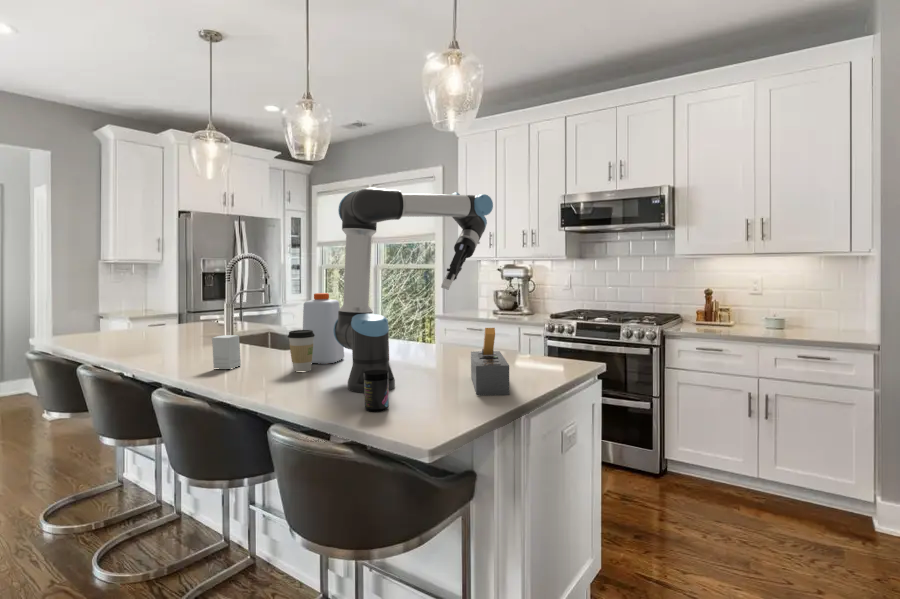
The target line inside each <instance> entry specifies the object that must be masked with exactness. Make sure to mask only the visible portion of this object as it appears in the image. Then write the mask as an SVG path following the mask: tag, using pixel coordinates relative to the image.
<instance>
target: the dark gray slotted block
mask: <svg viewBox="0 0 900 599" xmlns="http://www.w3.org/2000/svg"><path fill="white" fill-rule="evenodd" d="M470 378H471V381H472V385H473V388H474V392H476V393H475V395H480V396H509V395H510V364H509V363H508V361H507V360H506V358H505V357H504V356H503V354H502V352H501V351H500V350H494V354H493V355H482V350H478V351H470Z"/></svg>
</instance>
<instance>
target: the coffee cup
mask: <svg viewBox="0 0 900 599" xmlns="http://www.w3.org/2000/svg"><path fill="white" fill-rule="evenodd" d="M314 336H315V335H314V333H313V331H312V330H303V329H297V330H289V332H288V334H287V338H288V340H289V345H288V346H289V353H290V356H291V357H290V358H291V363H292V368H293V369H292V370H293V372H294V371H309V370H312V364H311V362H312V355H313V338H314ZM309 372H310V371H309Z"/></svg>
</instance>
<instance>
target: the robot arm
mask: <svg viewBox="0 0 900 599" xmlns="http://www.w3.org/2000/svg"><path fill="white" fill-rule="evenodd" d="M493 208H494V202H493V199H492V197H491V196H489V194H483V193H482V194H481V193H480V194H475V195H473V194H460V193H459V192H453V193H451V194H444V193H443V194H441V193H439V194H438V193H434V194H433V193H407V192H406V193H403V192H402V191H401V190H399V189H389V188H388V189H386V188H377V187H365V188H362V189H359V190H354V191H351V192H349V193H347V194H346V195H344V197H343V198H342V199H341V200H340V202H339V204H338V216H339V219H340V220H341V221H342V222H341V230H342V232H343V233H344V234H345V254H344V255H345V257H344V276H343V277H344V282H343V301H342V303H343V304H342V306H341V307H340V309H339V310H338V319H337V321H336V322H335V324H334V328H333V332H334V337H335V339H336V340H337V342H338V343H339V344H340V345H342V346H343V347H344V349H348V350H350V351H352V352H351V353H352V355H351V356H352V367H351V369H350V371H349V372H350V373H349V377H348V379H347V389H348V390H349V391H351V392H353V393H354V392H355V393H364V372H365V371H369V370H387V371H388V377H389V378H388V386H389V391H390V390H392V389H394V388H395V387H396V379H395V377H394V373H393V370H392V368H391V365H390V344H389V343H390V340H389V337H390V336H389V331H390V326H389V321H388V318H387V317H386V316H384V315H382V314H378V313H377V314H376V313H374V312H373V309H372V308H371V307H370V306H369V301H370V279H371V261H372V260H371V259H372V258H371V257H372V255H371V254H372V237H373V236H374V235H375V234H376V233H377V225H378V224H377V223H381V222H386V221H393V220H394V221H395V220H401V219H402V218H403V217H408V218H409V217H413V218H414V217H421V218H422V217H432V218H433V217H437V218H438V217H441V218H442V217H447V218H448V217H451V218H452V219H454V221H455V222H456V223H457V224H458V226H459V227H460V228H461V229H462V231H460V234H459V236H458V237H457V239H456V242H455V244H454V245H453V250H454V252H455V253H454V255H453V257H452V260H451V262H450V264H449V268H448V267H447V268H446V272H447V273H446V275H445V277H444V280H443V281H442V283H441V286H440V288H442V289H444V290H447V291H448V290H450V289H451V286H452V284H453V282H454V281H456V280H457V278H458V275H459V273H460V272H461V271H462V269H463V268H462V267H463V264H464V263H465V262H466V259H468V258H471V257H472V256H473V255H474V253H475V251H476V248H477V246H478V245H480V244H481V241H480V240H481V238H482V236H483V235H484V233H485V230H486V228H487V224H488V222H487V218H486V216H487V215H490V214H491V212H493Z"/></svg>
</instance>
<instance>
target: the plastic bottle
mask: <svg viewBox="0 0 900 599" xmlns="http://www.w3.org/2000/svg"><path fill="white" fill-rule="evenodd" d="M340 308H341V307H340V301H339V300H338V299H330V294H329V292H328V293H327V292H317V293H314V294H313V299H310V300H306V301H305V302H303V309H302V312H303V313H302V330H312V331H313V333H314V335H315V336H314V338H313V355H312V362H311V363H318V364H317V365H327V364H326V363H333V364H335V363H334V362H336V363H338V362H340V361H342V360H344V358H345V347H343V346H342V345H340V344H339V343H338V342H337V340H336V339H335V337H334V332H333V328H334V324H335V322H336V321H337V319H338V310H339V309H340ZM341 359H342V360H341ZM339 360H340V361H339ZM337 361H338V362H337ZM320 363H321V364H320Z"/></svg>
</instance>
